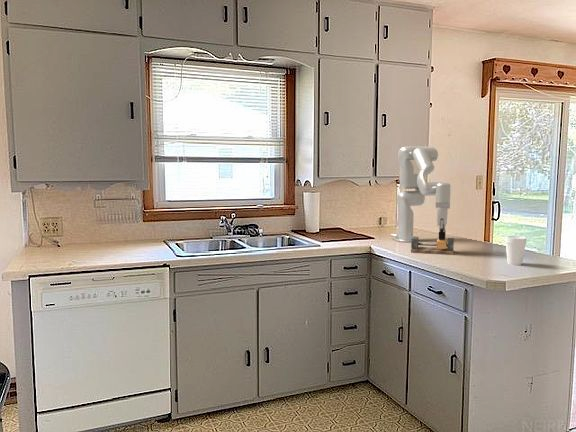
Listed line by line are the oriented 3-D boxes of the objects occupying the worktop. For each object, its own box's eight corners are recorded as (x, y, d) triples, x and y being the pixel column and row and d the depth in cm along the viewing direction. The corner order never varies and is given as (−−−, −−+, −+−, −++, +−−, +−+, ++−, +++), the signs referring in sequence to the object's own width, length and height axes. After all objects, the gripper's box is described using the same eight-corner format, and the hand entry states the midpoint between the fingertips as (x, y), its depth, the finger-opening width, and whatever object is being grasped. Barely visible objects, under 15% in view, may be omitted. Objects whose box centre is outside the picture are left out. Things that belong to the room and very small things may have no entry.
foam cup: (500, 262, 236) (501, 236, 234) (518, 261, 236) (519, 235, 235) (510, 266, 226) (511, 239, 225) (529, 265, 227) (530, 238, 226)
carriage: (436, 248, 261) (437, 230, 260) (437, 246, 267) (437, 228, 266) (446, 249, 259) (446, 230, 258) (446, 246, 265) (447, 228, 264)
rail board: (410, 252, 264) (411, 239, 263) (413, 248, 275) (413, 235, 274) (452, 254, 256) (453, 240, 255) (453, 250, 267) (453, 237, 266)
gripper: (436, 204, 270) (436, 235, 272) (434, 206, 254) (433, 240, 256) (450, 204, 267) (449, 236, 269) (449, 207, 251) (448, 241, 253)
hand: (442, 238), depth 263 cm, fingers open, 4 cm apart
